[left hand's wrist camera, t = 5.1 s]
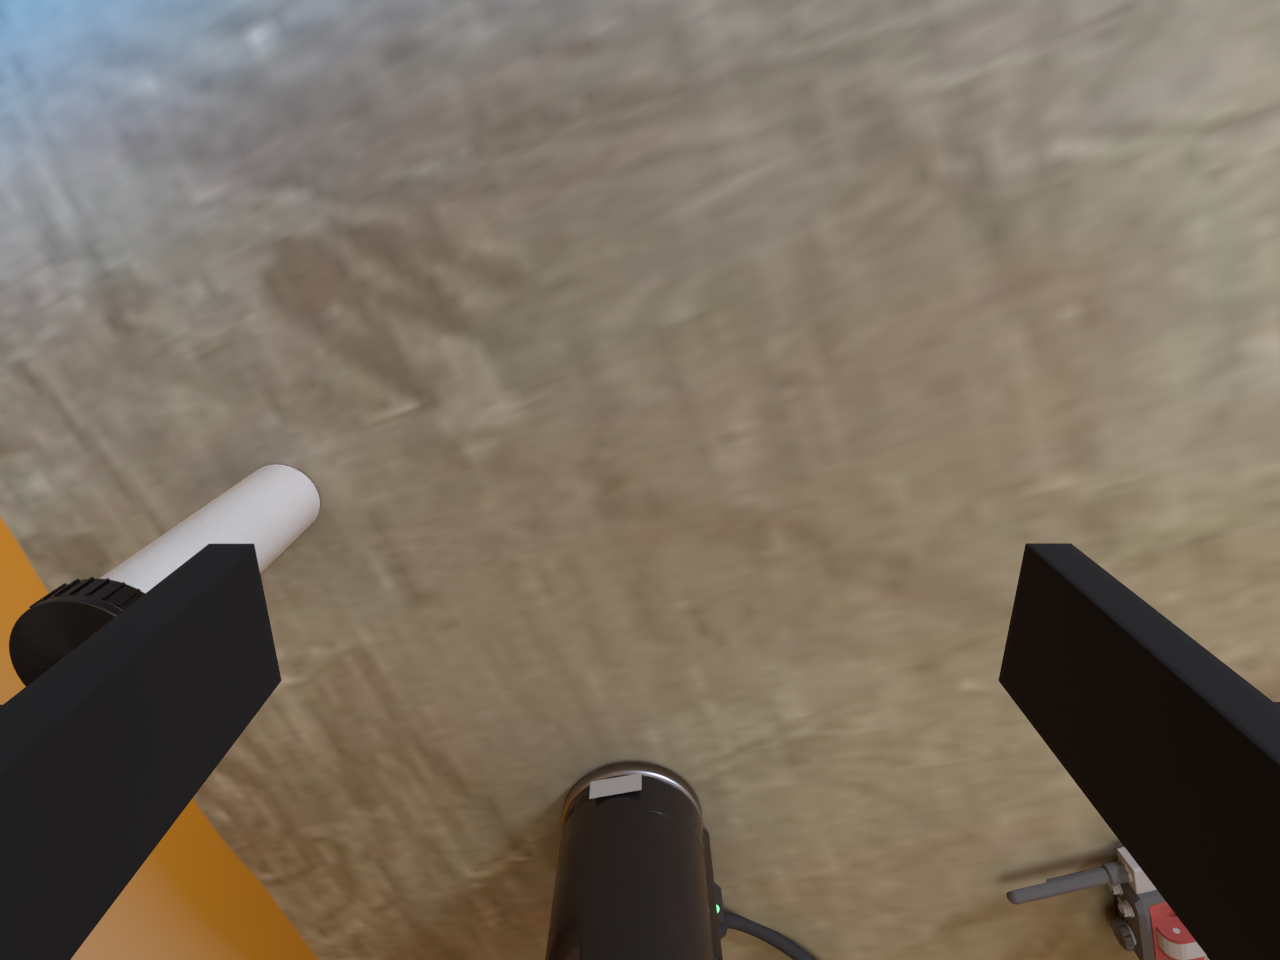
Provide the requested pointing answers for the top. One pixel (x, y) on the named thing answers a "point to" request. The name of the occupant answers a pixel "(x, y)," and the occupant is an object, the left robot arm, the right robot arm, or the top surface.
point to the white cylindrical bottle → (231, 525)
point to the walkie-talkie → (1127, 909)
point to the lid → (65, 622)
